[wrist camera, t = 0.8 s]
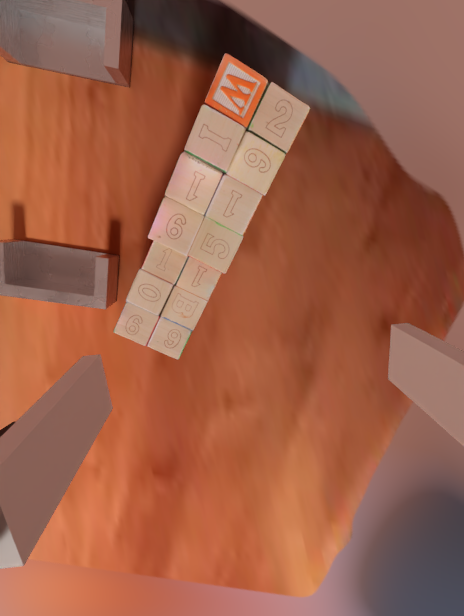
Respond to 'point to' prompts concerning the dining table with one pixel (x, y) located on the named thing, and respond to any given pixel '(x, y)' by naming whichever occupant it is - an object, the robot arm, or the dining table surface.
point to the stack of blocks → (209, 203)
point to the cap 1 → (69, 37)
